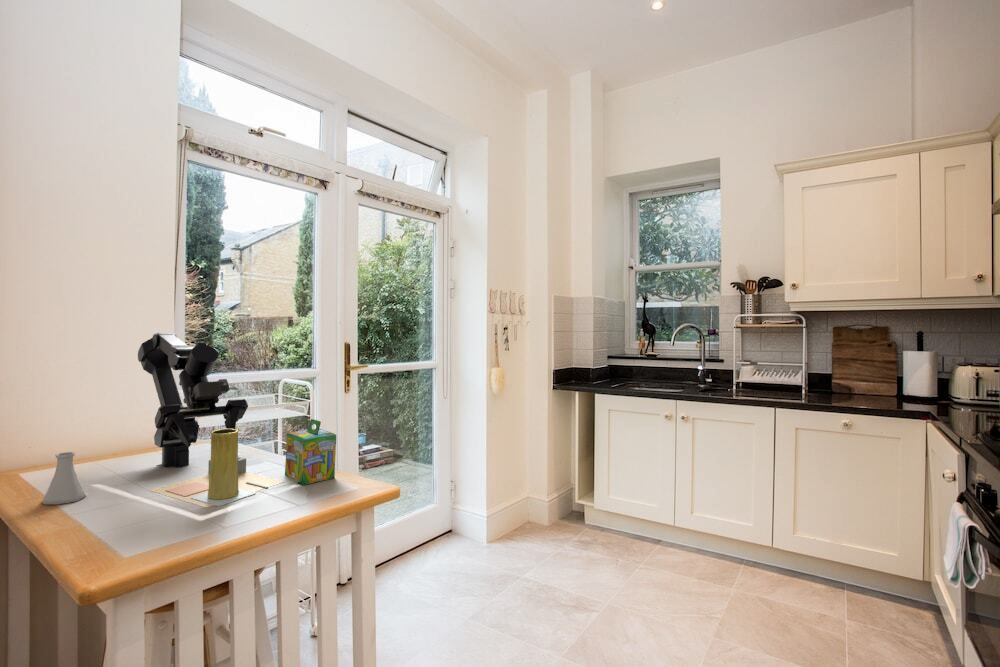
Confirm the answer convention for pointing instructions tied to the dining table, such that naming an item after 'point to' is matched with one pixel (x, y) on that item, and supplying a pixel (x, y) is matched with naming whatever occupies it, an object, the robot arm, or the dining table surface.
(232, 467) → the vase
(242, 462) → the button housing
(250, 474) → the picture board
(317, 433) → the chalk box
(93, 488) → the dining table surface
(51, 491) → the flask
